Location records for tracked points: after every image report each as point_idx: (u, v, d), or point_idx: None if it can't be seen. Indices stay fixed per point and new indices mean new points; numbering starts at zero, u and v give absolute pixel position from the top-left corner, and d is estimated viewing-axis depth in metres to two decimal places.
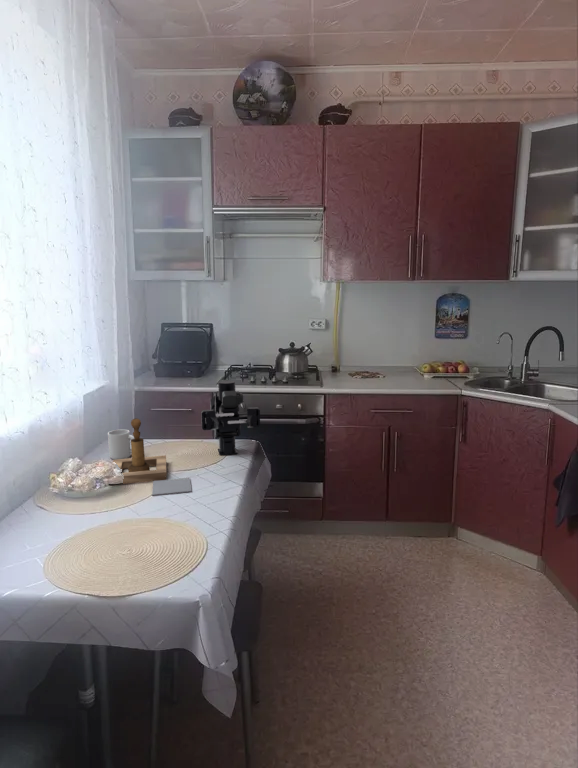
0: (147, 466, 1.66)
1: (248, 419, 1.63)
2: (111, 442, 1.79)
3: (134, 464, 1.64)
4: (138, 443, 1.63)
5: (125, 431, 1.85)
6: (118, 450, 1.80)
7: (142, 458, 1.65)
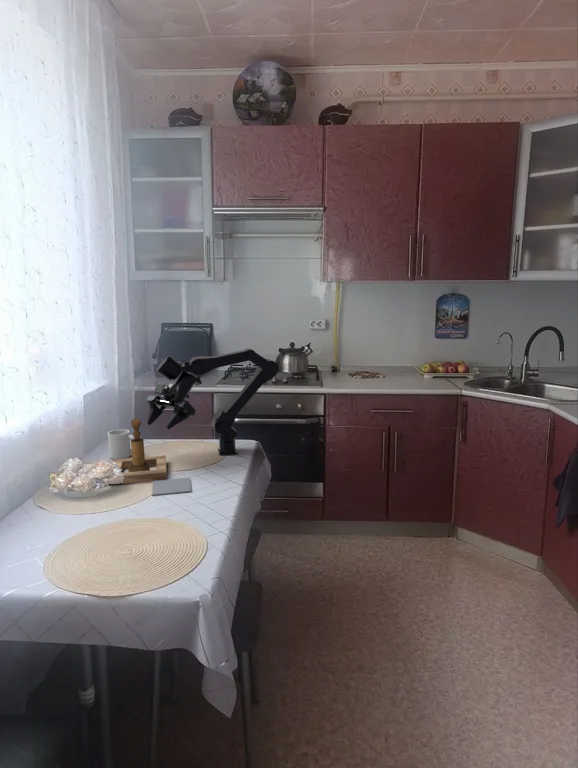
0: (147, 466, 1.66)
1: (169, 421, 1.68)
2: (111, 442, 1.79)
3: (134, 464, 1.64)
4: (138, 443, 1.63)
5: (125, 431, 1.85)
6: (118, 450, 1.80)
7: (142, 458, 1.65)
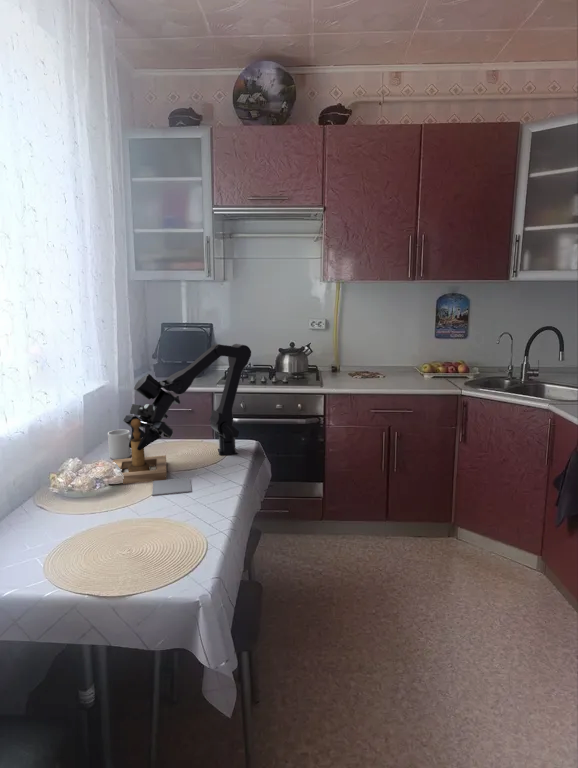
0: (147, 466, 1.66)
1: (140, 442, 1.63)
2: (111, 442, 1.79)
3: (134, 464, 1.64)
4: (138, 443, 1.63)
5: (125, 431, 1.85)
6: (118, 450, 1.80)
7: (142, 458, 1.65)
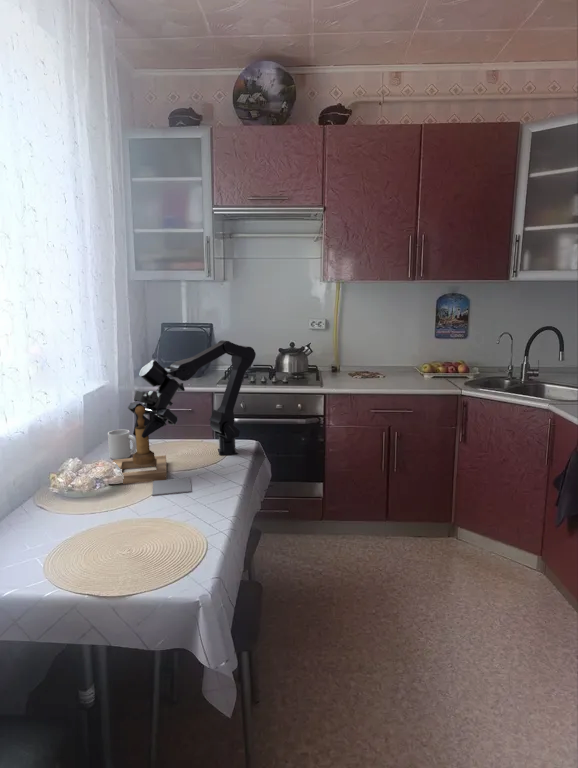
0: (152, 454, 1.63)
1: (145, 429, 1.60)
2: (111, 442, 1.79)
3: (139, 452, 1.62)
4: (142, 431, 1.60)
5: (125, 431, 1.85)
6: (118, 450, 1.80)
7: (147, 446, 1.62)
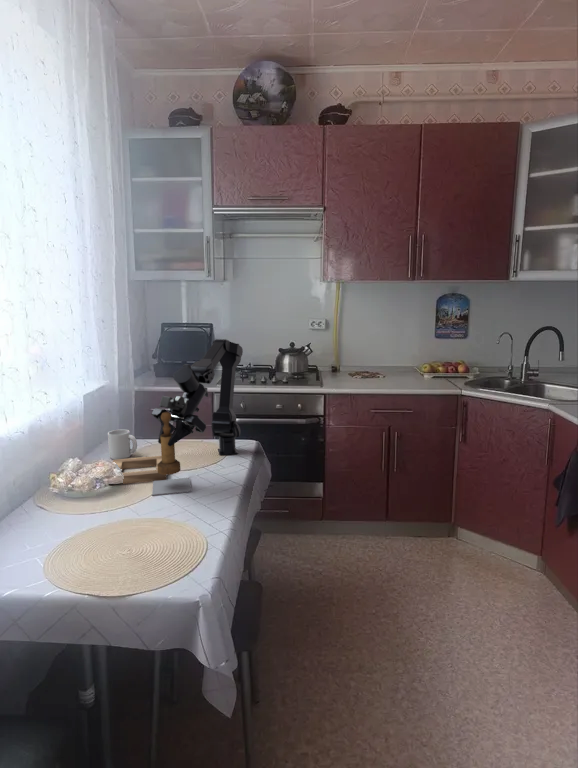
0: (178, 463, 1.54)
1: (171, 437, 1.51)
2: (111, 442, 1.79)
3: (164, 461, 1.52)
4: (168, 439, 1.51)
5: (125, 431, 1.85)
6: (118, 450, 1.80)
7: (172, 455, 1.52)
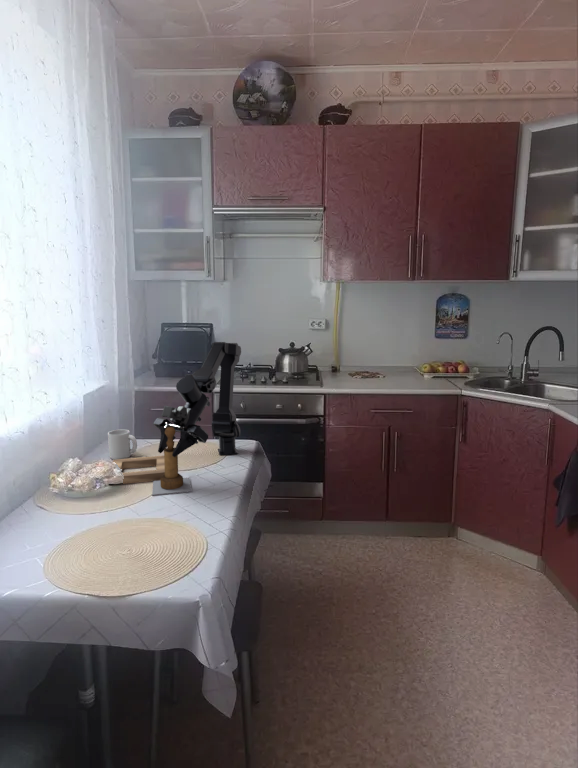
0: (181, 478, 1.54)
1: (176, 447, 1.50)
2: (111, 442, 1.79)
3: (167, 476, 1.52)
4: (172, 453, 1.51)
5: (125, 431, 1.85)
6: (118, 450, 1.80)
7: (176, 469, 1.53)
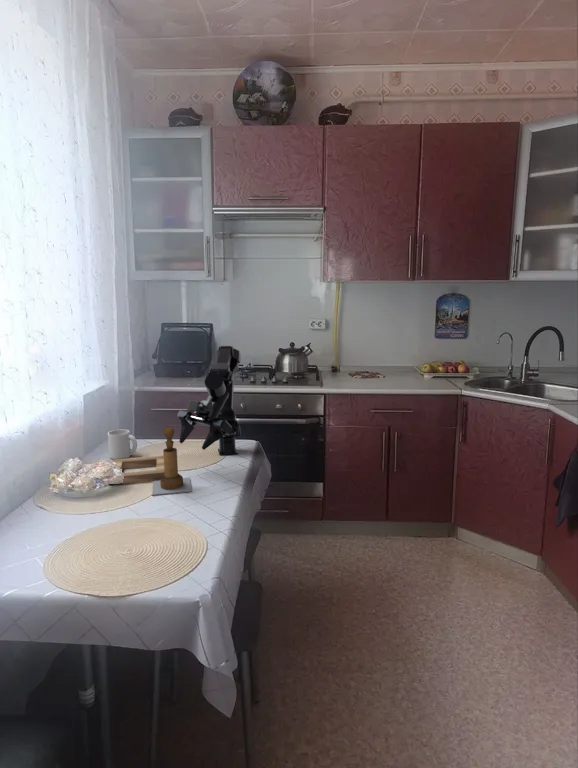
0: (180, 478, 1.54)
1: (205, 441, 1.57)
2: (111, 442, 1.79)
3: (167, 476, 1.52)
4: (171, 453, 1.51)
5: (125, 431, 1.85)
6: (118, 450, 1.80)
7: (175, 469, 1.53)
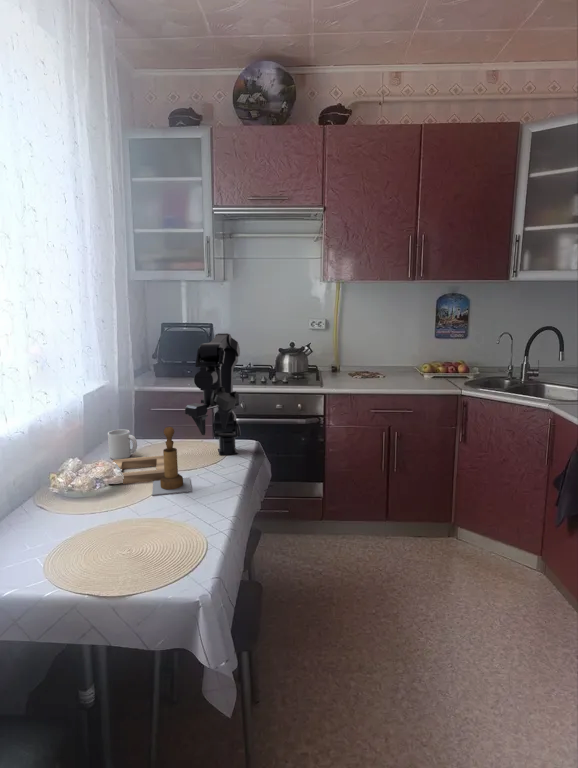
0: (180, 478, 1.54)
1: (226, 421, 1.69)
2: (111, 442, 1.79)
3: (167, 476, 1.52)
4: (171, 453, 1.51)
5: (125, 431, 1.85)
6: (118, 450, 1.80)
7: (175, 469, 1.53)
